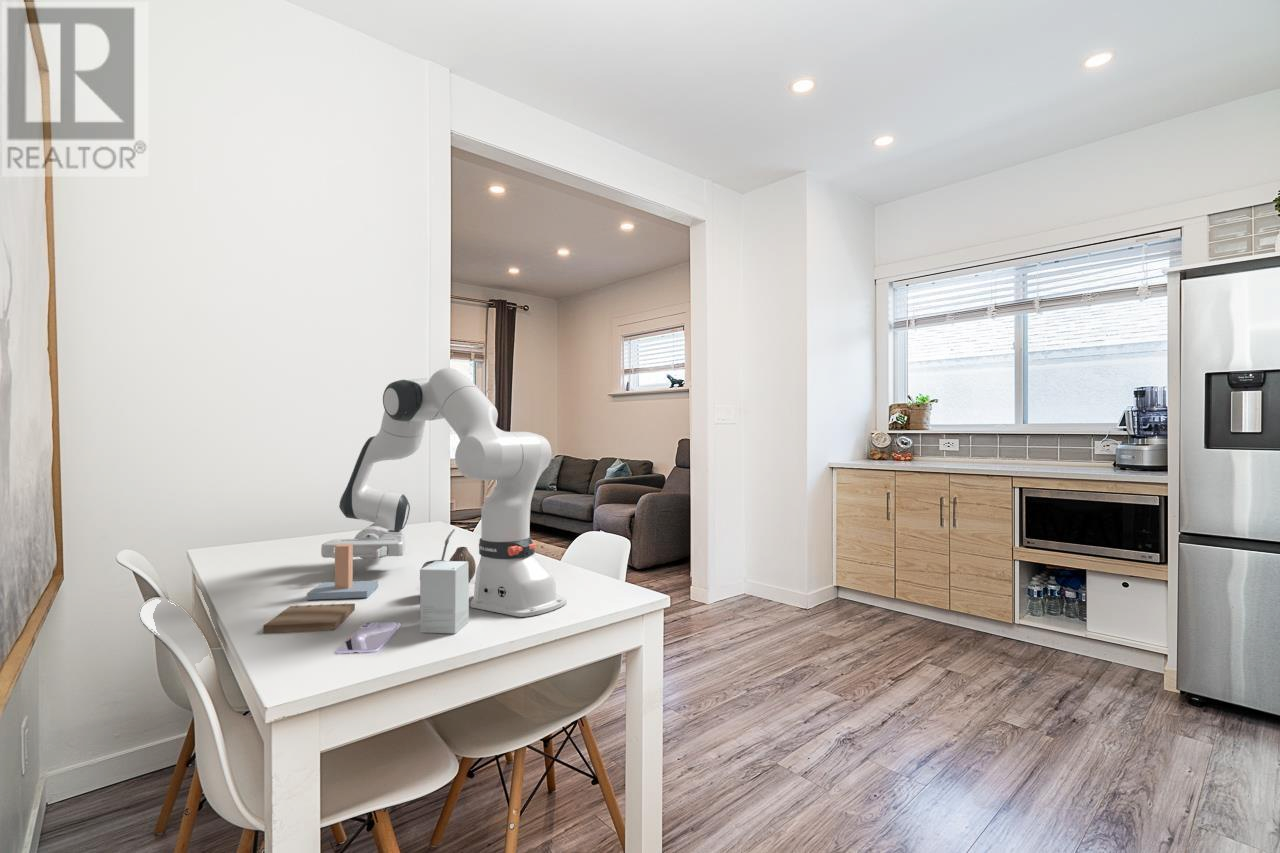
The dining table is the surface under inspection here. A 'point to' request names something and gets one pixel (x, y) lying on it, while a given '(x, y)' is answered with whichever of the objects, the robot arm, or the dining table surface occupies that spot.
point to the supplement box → (444, 596)
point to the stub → (343, 579)
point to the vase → (465, 559)
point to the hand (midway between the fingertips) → (355, 554)
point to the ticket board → (309, 618)
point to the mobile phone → (368, 638)
